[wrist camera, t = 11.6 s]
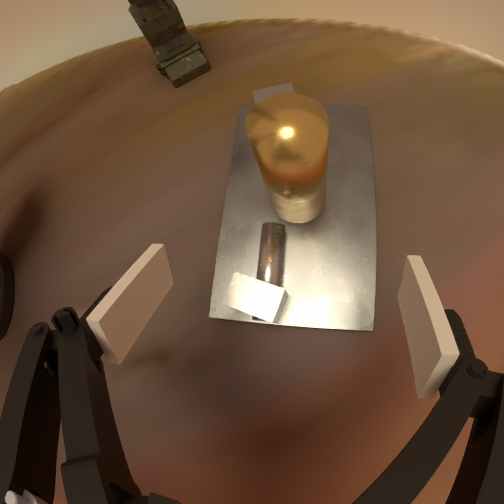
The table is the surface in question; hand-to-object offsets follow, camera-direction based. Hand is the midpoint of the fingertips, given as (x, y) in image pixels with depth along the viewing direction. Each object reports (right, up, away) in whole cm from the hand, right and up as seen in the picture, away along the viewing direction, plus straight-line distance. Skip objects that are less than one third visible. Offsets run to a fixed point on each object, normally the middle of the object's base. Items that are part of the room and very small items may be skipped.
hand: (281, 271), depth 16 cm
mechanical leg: (-11, +28, +22) cm, 37 cm away
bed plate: (+3, +6, +13) cm, 14 cm away
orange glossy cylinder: (+3, +6, +11) cm, 13 cm away
